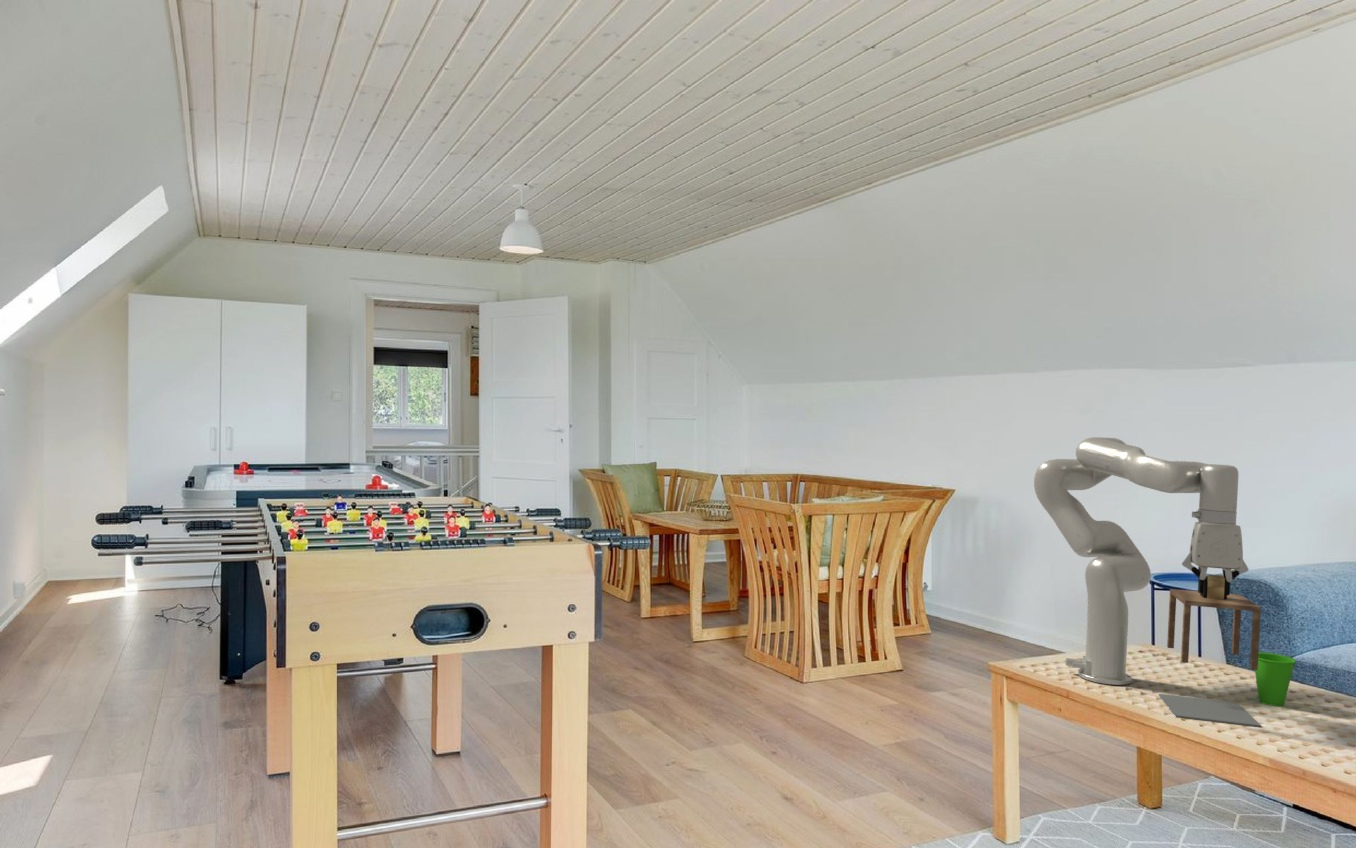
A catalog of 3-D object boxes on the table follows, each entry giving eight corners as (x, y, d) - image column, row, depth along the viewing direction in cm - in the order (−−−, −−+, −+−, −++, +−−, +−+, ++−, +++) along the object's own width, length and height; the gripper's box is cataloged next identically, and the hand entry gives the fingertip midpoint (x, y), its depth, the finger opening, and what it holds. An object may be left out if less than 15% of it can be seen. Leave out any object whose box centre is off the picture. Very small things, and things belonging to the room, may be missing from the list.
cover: (1182, 662, 208) (1186, 578, 208) (1167, 646, 223) (1170, 568, 222) (1257, 670, 204) (1261, 584, 204) (1237, 653, 219) (1241, 573, 218)
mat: (1175, 717, 208) (1175, 715, 208) (1158, 695, 224) (1158, 693, 224) (1260, 727, 203) (1261, 725, 203) (1237, 704, 220) (1237, 702, 220)
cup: (1301, 710, 217) (1303, 664, 216) (1258, 706, 218) (1260, 660, 218) (1284, 699, 225) (1286, 654, 225) (1243, 695, 227) (1245, 650, 227)
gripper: (1181, 517, 212) (1177, 597, 212) (1263, 522, 207) (1259, 604, 207) (1173, 514, 219) (1169, 591, 219) (1252, 519, 214) (1248, 597, 215)
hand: (1213, 596), depth 213 cm, fingers closed on cover, 3 cm apart
